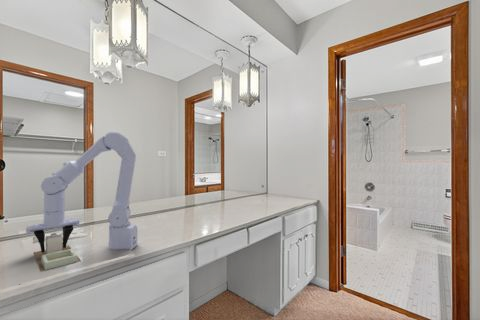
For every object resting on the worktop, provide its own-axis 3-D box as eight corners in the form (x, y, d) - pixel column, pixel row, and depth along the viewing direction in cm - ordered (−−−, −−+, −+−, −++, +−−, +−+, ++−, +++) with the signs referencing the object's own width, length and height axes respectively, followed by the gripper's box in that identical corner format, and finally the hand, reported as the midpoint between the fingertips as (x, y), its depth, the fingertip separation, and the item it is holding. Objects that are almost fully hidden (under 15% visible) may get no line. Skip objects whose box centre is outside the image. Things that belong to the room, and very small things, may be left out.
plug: (61, 251, 81) (62, 234, 81) (47, 255, 78) (47, 236, 78) (59, 248, 84) (60, 231, 84) (45, 251, 81) (45, 234, 81)
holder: (77, 261, 74) (77, 255, 74) (45, 269, 68) (45, 263, 68) (72, 254, 79) (72, 248, 79) (41, 261, 73) (41, 255, 73)
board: (81, 264, 74) (81, 261, 74) (40, 275, 67) (40, 271, 67) (68, 247, 88) (68, 245, 88) (33, 255, 80) (33, 252, 80)
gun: (33, 239, 87) (33, 233, 94) (32, 248, 87) (32, 241, 94) (90, 232, 99) (86, 227, 106) (89, 240, 99) (85, 235, 106)
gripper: (76, 206, 89) (75, 241, 89) (25, 212, 79) (24, 251, 79) (81, 209, 84) (80, 246, 84) (27, 215, 74) (26, 258, 74)
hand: (53, 249), depth 81 cm, fingers open, 5 cm apart
